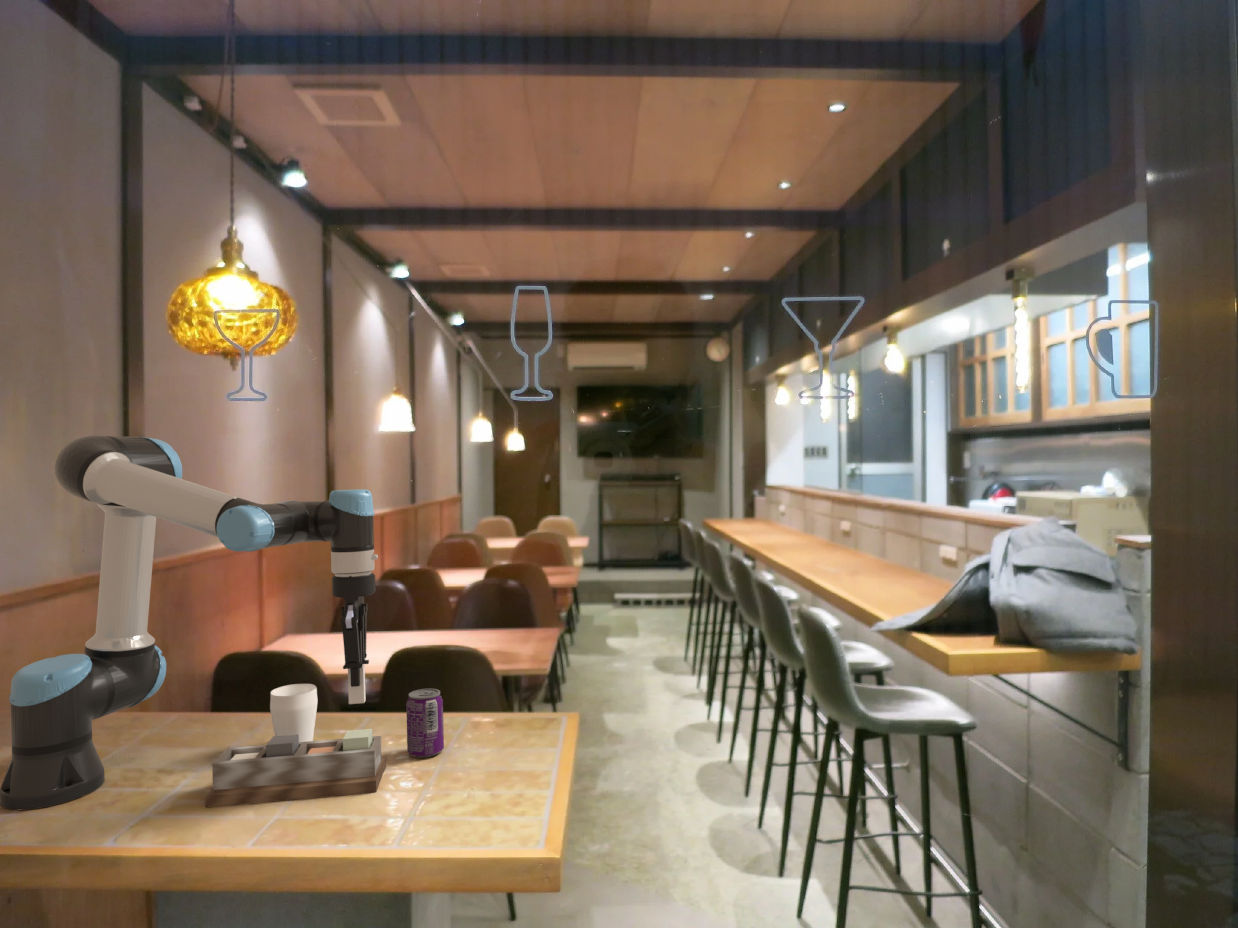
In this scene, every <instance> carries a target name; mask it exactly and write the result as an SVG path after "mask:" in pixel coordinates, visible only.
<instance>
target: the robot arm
mask: <svg viewBox="0 0 1238 928" xmlns="http://www.w3.org/2000/svg"><path fill="white" fill-rule="evenodd" d="M182 465H183V463H182V462H181V459H180V457H179V454H178V453H177V451H175V450H174V448H173V447H172V446H171V445H170V444H169V443H167V442H166V441H164V440H160V439H158V438H151V437H144V436H118V435H116V436H115V435H113V436H110V435H95V434H94V435H87V436H82V437H81V436H80V437H79V438H76V439H74V440H72V441H71V442H68V443H67V444H66V445H65V446H64V447H62V449H61V450H60V451H59V452H58V454H57V457H56V458H55V461H54V475H55V478H56V481H58V484H59V485H60V487H62V489H64V490H65V491H66V492H67V493H69V494H70V495H72V496H75V497H78V498H80V499H82V500H86V501H89V502H92V503H95V504H96V505H97V507H98V508H99V509H101V510H102V511H103V512H104V523H103V534H102V535H103V537H102V548H101V550H102V551H101V558H100V560H101V561H100V562H101V563H100V573H99V584H98V585H99V586H98V587H99V589H98V599H97V611H96V612H97V613H96V624H95V625H96V626H95V633H94V634H93V636H91V637H90V638H89V639H88V640H87V641H85V643H84V653H68V654H61V655H60V654H59V655H57V656H55V657H47V658H44V659H41V660H37V661H34V662H32V663H29V664H28V665H25V666H22V668H20V669H18V671H17V672H16V673H15V674H14V675H13V676H12V679H11V683H10V684H11V685H10V694H9V699H8V700H9V703H10V718H11V719H10V720H11V721H10V724H11V728H10V729H11V758H10V760H9V761H10V762H9V764H8V767H7V771H5V772H6V773H5V775H4V778H3V781H2V784H1V786H0V804H1V805H0V807H2V808H3V807H5V808H4V809H7V810H13V809H25V810H34V809H40V808H39V807H42V808H46V807H51V806H56V805H60V804H64V803H67V802H70V801H74V800H76V799H79V798H81V797H84V796H86V795H88V794H91V793H93V792H94V791H96V790H98V789H99V788H100V787H102V786H103V785H104V783H105V767H104V765H103V762H102V760H101V758H100V755H99V753H98V751H97V748H96V746H95V745H94V742H93V721H94V720H97V719H100V718H102V717H104V716H108V715H111V714H114V713H116V712H118V711H122V710H124V709H127V708H132V707H134V706H137V705H138V704H140V703H142V702H143V701H146V700H149V699H150V698H152V697H153V696H154V695H155V694H156V693H157V692H158V691H159V690H160V689H161V687H162V685H163V683H164V681H165V678H166V675H167V661H166V658H165V656H163V655H162V654H163V652H162V650H161V648H159V646H157V645H156V638H155V637H153V635H152V634H150V633H149V632H148V624H149V613H150V612H149V611H150V597H151V586H152V575H153V574H152V573H153V562H154V551H155V549H154V548H155V538H156V537H155V536H156V526H157V518H159V519H161V520H164V521H168V522H170V523H173V524H176V525H178V526H179V525H180V526H181V527H185V528H188V529H191V530H194V531H197V532H200V533H203V534H205V535H209V536H212V537H215V538H217V539H218V540H219V542H220V543H222V545H223V546H224V547H225V548H226V549H227V550H229V551H233V552H249V553H250V552H251V553H252V552H255V551H259V550H263V549H269V548H275V547H280V546H286V545H293V544H299V543H309V542H312V543H313V542H330V565H331V566H330V569H331V571H330V572H331V573H332V574H334V575H333V577H332V578H331V594H332V596H333V597H335V598H339V599H340V598H343V599H344V605H343V606H342V607H341V618H340V624H341V629H342V641H343V651H344V653H343V654H344V665H343V666H342V669H343V670H347V687H348V688H347V689H348V693H347V694H348V705H354V704H356V705H357V704H365V702H366V699H367V698H366V673H365V672H366V669H365V665H368V664H369V663H370V660H369V659H367V656H368V655H367V626H368V625H367V622H368V620H367V619H368V617H367V616H368V610H369V609H368V608H369V606H368V603H365V597H366V596H372V595H373V594H375V593H376V574H375V573H374V572H373V571H375V569H376V568H375V564H376V563H375V560H378V558H379V556H378V554H377V553H376V554H375V544H374V543H375V540H374V539H375V537H374V535H375V529H374V525H375V524H374V518H375V516H374V515H375V511H374V503H373V502H374V501H373V500H374V499H373V494H372V492H371V491H370V490H369V489H365V488H363V489H360V488H359V489H339V490H338V489H337V490H331V492H330V493H329V498H328V500H324V501H321V500H320V501H317V500H315V501H314V500H311V501H305V500H303V501H299V500H291V501H284V502H282V501H281V502H278V503H268V504H266V503H265V504H262V503H257V502H254V501H251V500H247V499H244V498H241V497H239V496H235V495H233V494H229V493H227V492H223V491H220V490H217V489H214V488H211V487H209V486H205V485H203V484H202V485H201V484H198V483H196V482H193V481H188V480H186V479H183V466H182Z"/></svg>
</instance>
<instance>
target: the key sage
mask: <svg viewBox="0 0 1238 928" xmlns="http://www.w3.org/2000/svg"><path fill="white" fill-rule="evenodd" d="M372 736H373V728H364V729H353V730H347V731H346V733H345V734H344V736H343V737H342V739H343V751H351V750H364V749H370V747H371V745H372Z"/></svg>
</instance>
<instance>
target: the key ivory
mask: <svg viewBox="0 0 1238 928" xmlns="http://www.w3.org/2000/svg"><path fill="white" fill-rule="evenodd" d="M258 754H259V753H247V754H235V756H234V757H233V758H232V759H231V760H240V759H253V758H255V757H256V756H257V755H258Z"/></svg>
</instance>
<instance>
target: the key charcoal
mask: <svg viewBox="0 0 1238 928" xmlns="http://www.w3.org/2000/svg"><path fill="white" fill-rule="evenodd" d="M265 745H266V757H277V756H290V755H294V754H295V752H296V751H297V750H298V748H299V734H298V735H285V736H275V735H274V736H272V737H271V738H270V739H269V741H268V742H267V743H266V744H265Z"/></svg>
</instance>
